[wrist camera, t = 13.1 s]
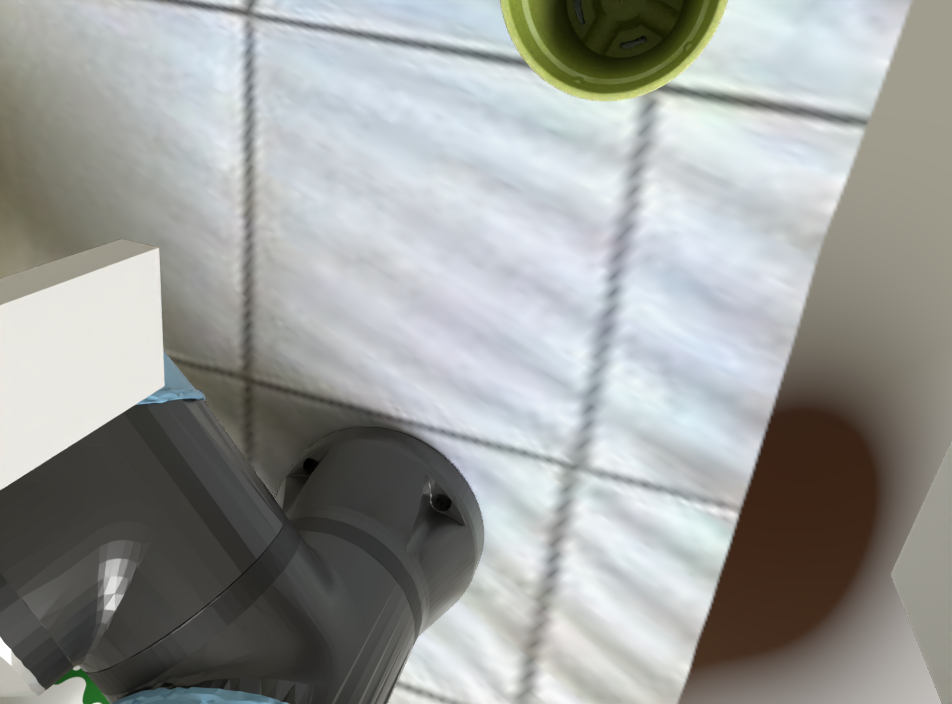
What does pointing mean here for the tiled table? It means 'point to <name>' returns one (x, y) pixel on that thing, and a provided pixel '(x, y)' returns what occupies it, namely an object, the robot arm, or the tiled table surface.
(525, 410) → the tiled table surface
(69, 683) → the milk carton
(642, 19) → the plant pot
